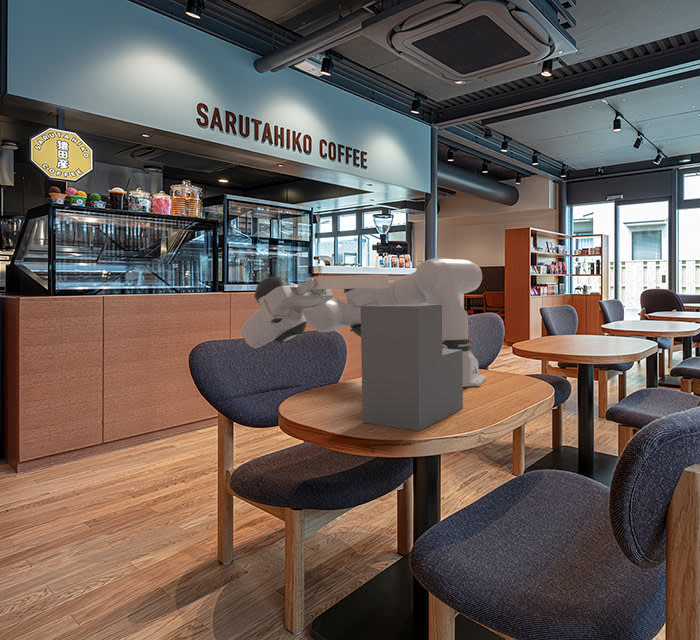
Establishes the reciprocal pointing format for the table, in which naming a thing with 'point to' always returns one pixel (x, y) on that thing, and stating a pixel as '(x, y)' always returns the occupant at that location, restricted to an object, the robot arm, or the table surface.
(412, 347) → the grey l-shaped step block
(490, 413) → the table surface
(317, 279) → the beige rectangular post
